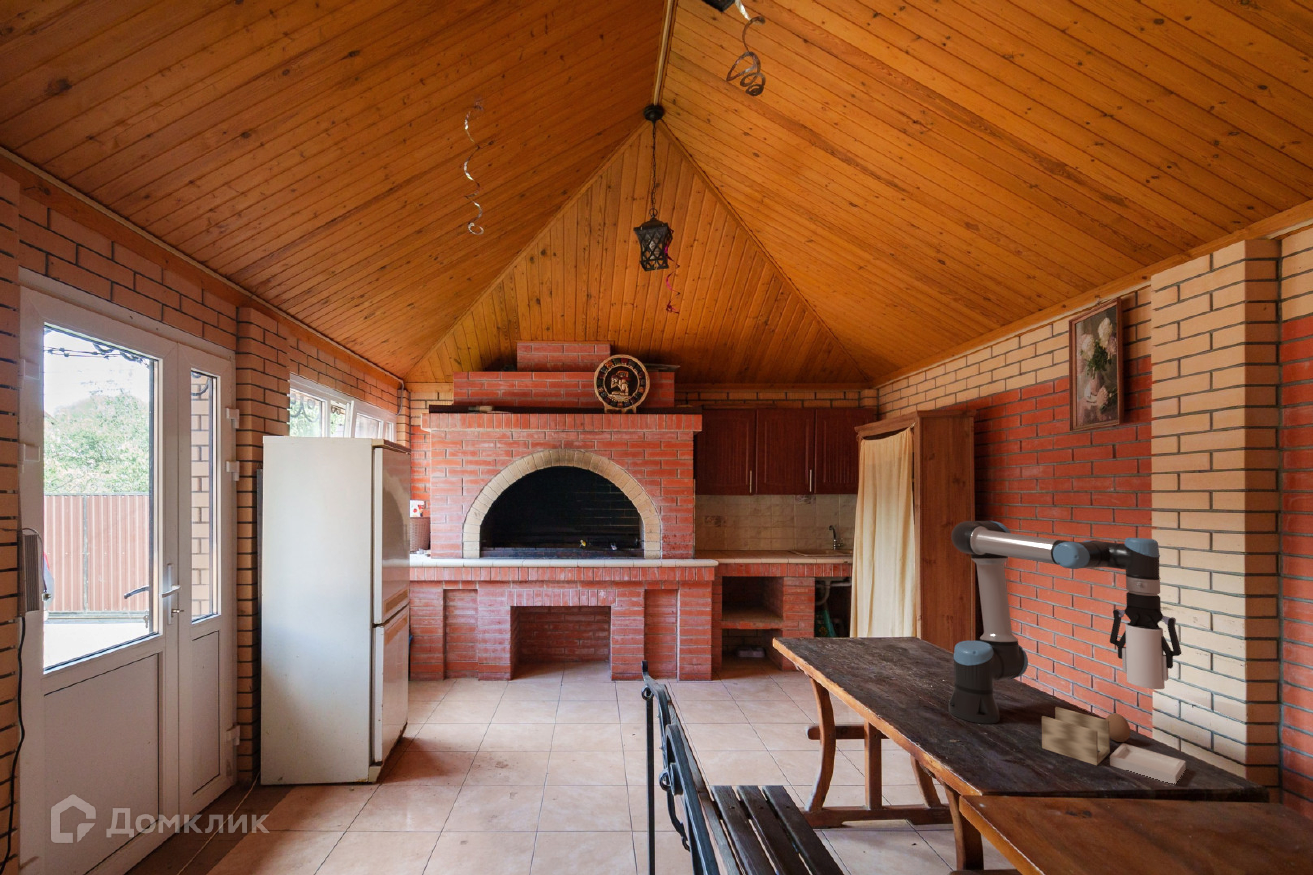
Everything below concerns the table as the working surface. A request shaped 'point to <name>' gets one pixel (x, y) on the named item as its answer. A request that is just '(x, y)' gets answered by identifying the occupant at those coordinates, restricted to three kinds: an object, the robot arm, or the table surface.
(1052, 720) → the holder
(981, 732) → the table surface
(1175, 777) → the tray
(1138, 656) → the cup
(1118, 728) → the egg
